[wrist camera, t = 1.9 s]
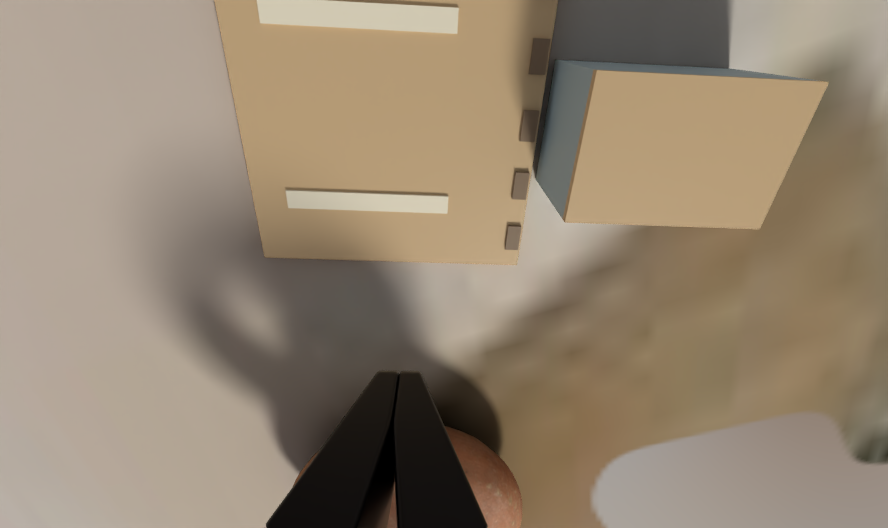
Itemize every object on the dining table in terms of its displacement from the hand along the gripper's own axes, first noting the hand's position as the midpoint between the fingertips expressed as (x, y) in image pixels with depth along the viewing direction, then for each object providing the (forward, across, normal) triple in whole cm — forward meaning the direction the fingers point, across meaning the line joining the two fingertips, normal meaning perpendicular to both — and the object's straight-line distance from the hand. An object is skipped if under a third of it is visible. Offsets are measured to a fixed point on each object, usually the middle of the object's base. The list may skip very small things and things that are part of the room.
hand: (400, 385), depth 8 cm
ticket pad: (+12, +1, -3) cm, 12 cm away
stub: (+12, -9, -3) cm, 15 cm away
